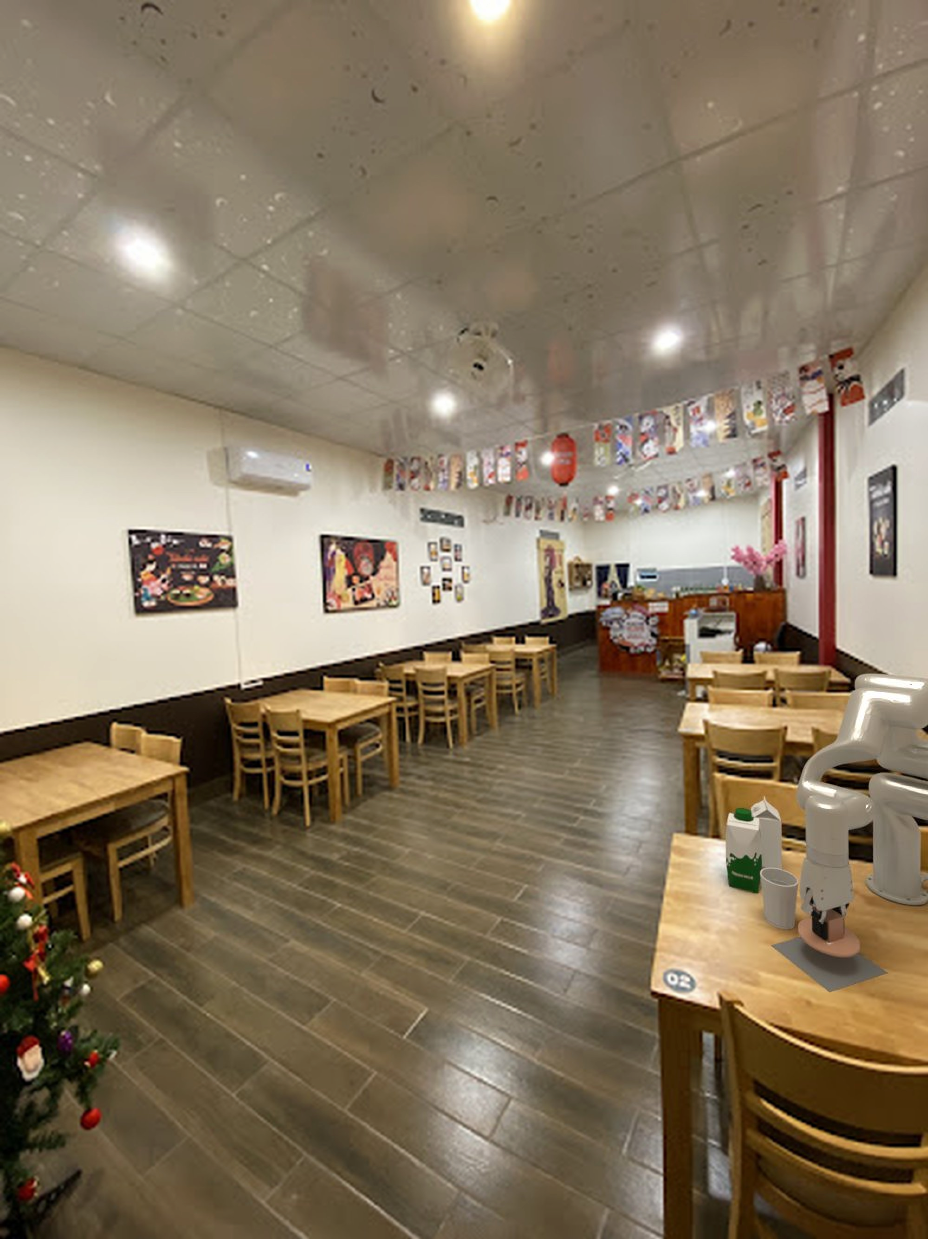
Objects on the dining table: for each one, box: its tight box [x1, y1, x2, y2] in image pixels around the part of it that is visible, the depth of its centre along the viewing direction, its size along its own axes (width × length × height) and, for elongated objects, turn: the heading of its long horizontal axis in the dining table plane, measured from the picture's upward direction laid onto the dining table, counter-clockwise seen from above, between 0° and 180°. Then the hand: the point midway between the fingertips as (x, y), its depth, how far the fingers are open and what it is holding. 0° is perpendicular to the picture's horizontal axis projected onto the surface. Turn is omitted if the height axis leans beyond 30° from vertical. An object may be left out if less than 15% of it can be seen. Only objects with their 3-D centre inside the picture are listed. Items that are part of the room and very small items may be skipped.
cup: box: [760, 868, 799, 930], centre depth 123 cm, size 8×8×12 cm
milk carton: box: [750, 796, 783, 870], centre depth 149 cm, size 7×7×19 cm
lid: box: [797, 908, 861, 957], centre depth 110 cm, size 11×11×6 cm
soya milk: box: [724, 807, 763, 894], centre depth 139 cm, size 9×9×20 cm
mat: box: [770, 936, 889, 993], centre depth 110 cm, size 16×14×1 cm
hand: (828, 932), depth 110 cm, fingers closed on lid, 4 cm apart
